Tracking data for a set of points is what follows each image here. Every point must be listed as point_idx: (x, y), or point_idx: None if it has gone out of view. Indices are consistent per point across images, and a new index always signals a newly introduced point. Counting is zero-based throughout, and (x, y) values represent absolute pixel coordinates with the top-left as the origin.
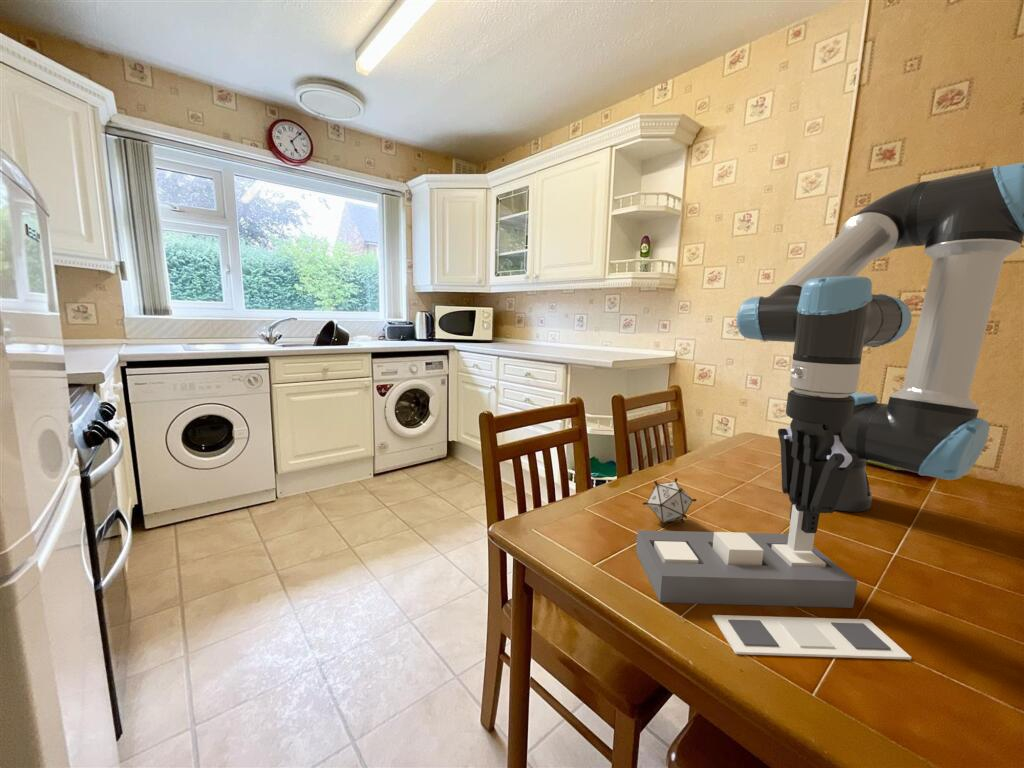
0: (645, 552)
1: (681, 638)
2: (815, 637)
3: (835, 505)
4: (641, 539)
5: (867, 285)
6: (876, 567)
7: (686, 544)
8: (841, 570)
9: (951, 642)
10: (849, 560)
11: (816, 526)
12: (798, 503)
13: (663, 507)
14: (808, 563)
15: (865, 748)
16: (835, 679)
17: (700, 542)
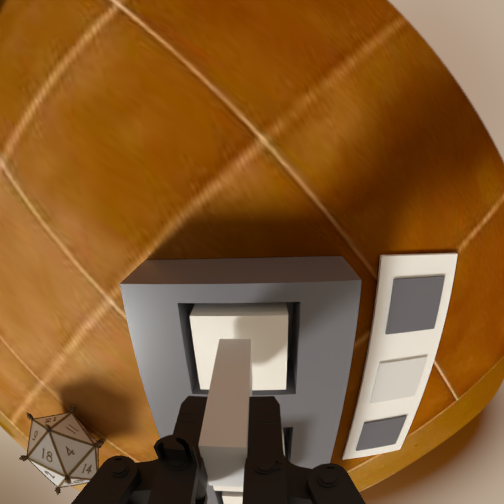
0: None
1: (367, 478)
2: (407, 372)
3: (362, 499)
4: None
5: None
6: (172, 74)
7: (230, 496)
8: (314, 288)
9: (427, 137)
10: (144, 123)
11: (279, 417)
12: (205, 479)
13: None
14: (286, 355)
15: (498, 379)
16: (453, 372)
17: None
